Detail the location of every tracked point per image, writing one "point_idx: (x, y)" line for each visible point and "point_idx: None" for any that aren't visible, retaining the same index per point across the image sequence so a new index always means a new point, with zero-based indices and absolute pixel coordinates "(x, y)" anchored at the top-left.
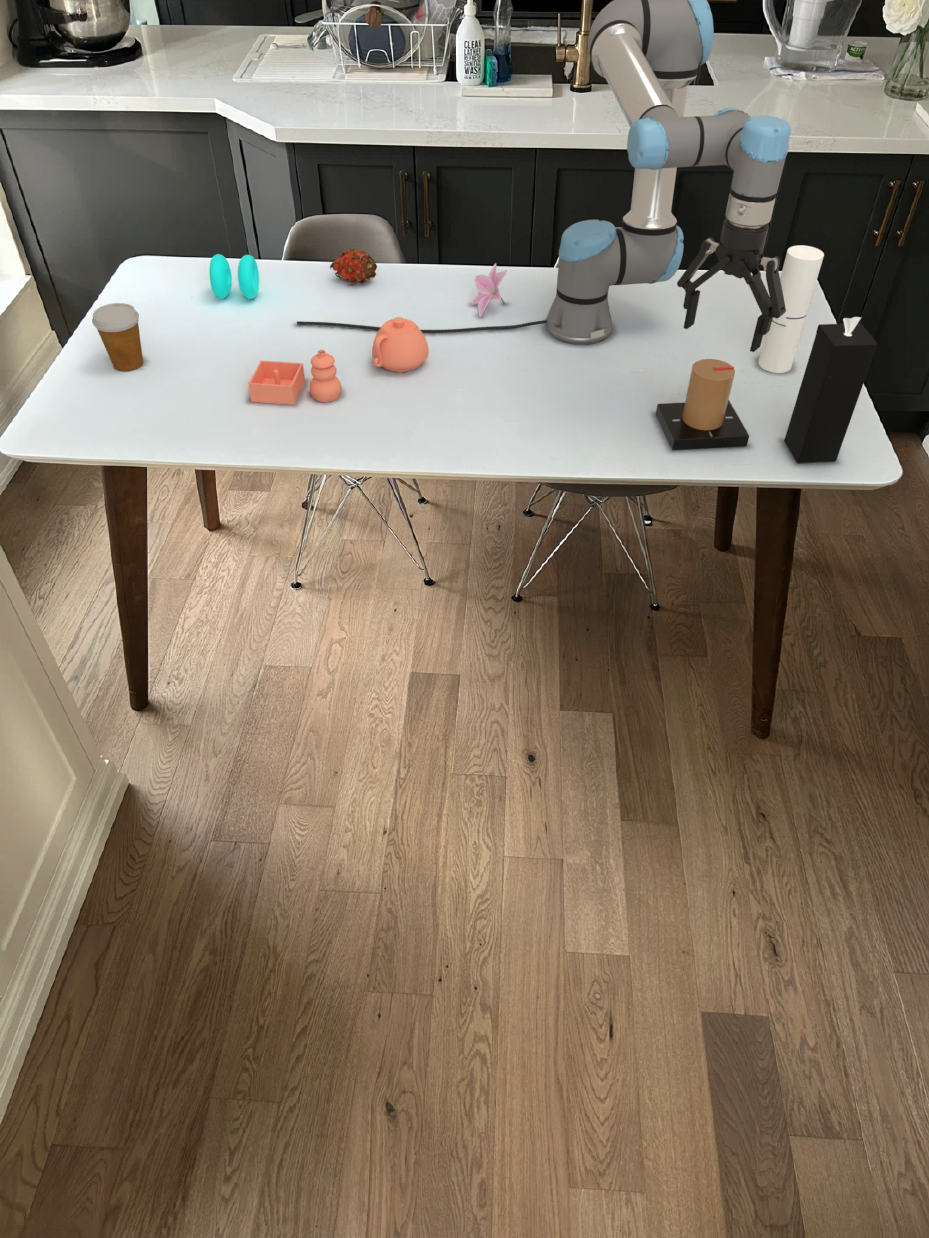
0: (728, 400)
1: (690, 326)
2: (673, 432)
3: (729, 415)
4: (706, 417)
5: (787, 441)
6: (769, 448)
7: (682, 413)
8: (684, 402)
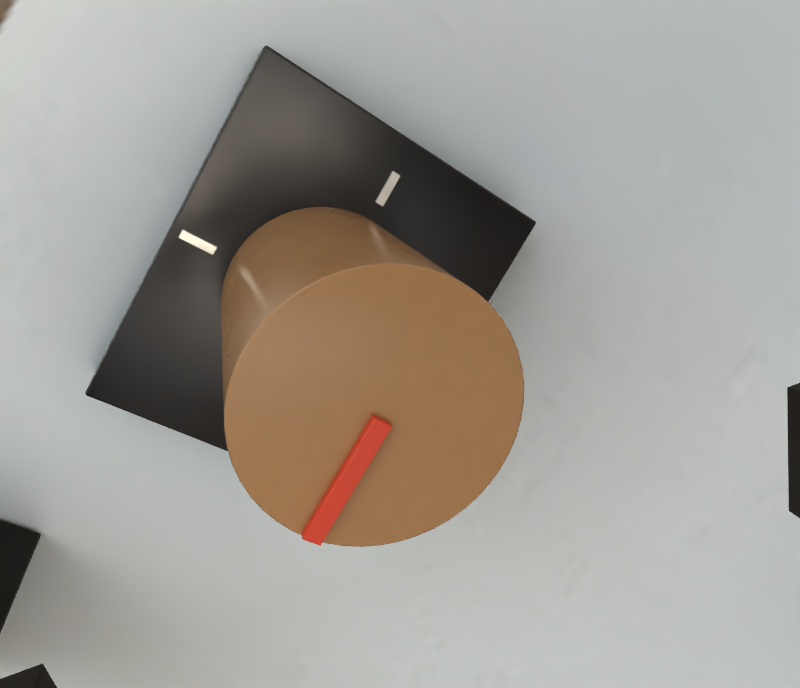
0: None
1: (791, 453)
2: (319, 96)
3: None
4: (250, 254)
5: (2, 532)
6: (29, 447)
7: None
8: None
